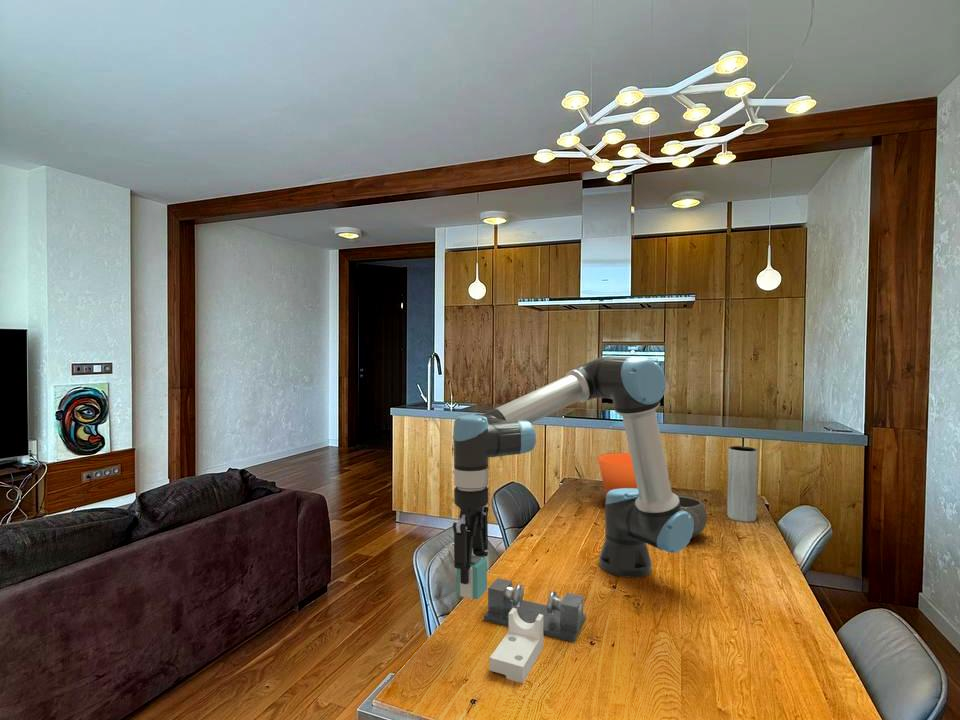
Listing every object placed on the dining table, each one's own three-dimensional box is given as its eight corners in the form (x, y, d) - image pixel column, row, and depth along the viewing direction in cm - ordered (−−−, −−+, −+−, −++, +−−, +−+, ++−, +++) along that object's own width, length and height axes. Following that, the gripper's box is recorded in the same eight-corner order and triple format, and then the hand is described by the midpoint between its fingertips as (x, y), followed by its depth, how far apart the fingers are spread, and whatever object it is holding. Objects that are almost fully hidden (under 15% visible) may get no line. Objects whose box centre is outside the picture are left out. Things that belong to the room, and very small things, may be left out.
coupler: (487, 589, 115) (486, 556, 114) (477, 599, 110) (477, 565, 110) (466, 585, 117) (466, 552, 116) (456, 595, 112) (456, 561, 112)
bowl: (649, 541, 174) (650, 504, 173) (653, 524, 190) (653, 490, 190) (707, 549, 167) (707, 510, 167) (705, 531, 184) (706, 496, 183)
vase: (757, 516, 200) (758, 447, 199) (755, 524, 191) (756, 452, 191) (728, 512, 205) (730, 445, 205) (725, 519, 197) (726, 449, 196)
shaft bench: (585, 618, 123) (586, 588, 123) (574, 642, 113) (575, 609, 113) (500, 599, 133) (501, 571, 132) (483, 620, 123) (483, 589, 122)
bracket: (512, 641, 114) (512, 607, 114) (543, 649, 111) (543, 614, 111) (489, 675, 102) (489, 637, 102) (523, 684, 100) (523, 646, 99)
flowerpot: (669, 516, 199) (670, 466, 199) (604, 516, 200) (605, 465, 199) (649, 498, 224) (649, 453, 224) (591, 497, 225) (592, 452, 224)
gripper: (473, 475, 122) (474, 571, 123) (436, 495, 106) (437, 606, 107) (502, 478, 119) (503, 576, 120) (468, 499, 103) (470, 613, 104)
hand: (472, 590), depth 113 cm, fingers closed on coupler, 5 cm apart
